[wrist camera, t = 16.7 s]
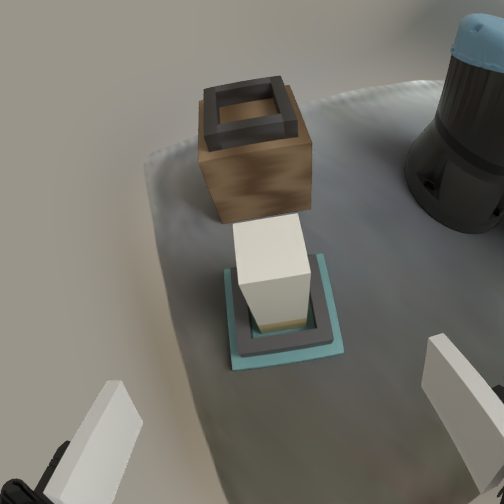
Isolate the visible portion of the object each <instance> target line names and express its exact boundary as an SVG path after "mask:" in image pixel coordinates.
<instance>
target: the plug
mask: <svg viewBox="0 0 504 504" xmlns="http://www.w3.org/2000/svg"><path fill="white" fill-rule="evenodd" d="M233 233H234V243H235V254H236V264H237V274H238V284H239V287H240V289H241V291H242V293H243V295H244V297H245V299H246V301H247V304H248V306H249V308H250V310H251V312H252V314H253V316H254V318H255V320H256V322H257V325H258V327H259V329H260V331H261V333H262V334H265V333H272V332H278V331H284V330H291V329H297V328H303V327H306V322H307V312H308V301H309V290H310V279H311V271H310V266H309V261H308V257H307V252H306V247H305V243H304V238H303V234H302V230H301V225H300V221H299V217H298V213H296V214H290V215H284V216H278V217H272V218H265V219H260V220H254V221H248V222H242V223H236V224H233Z"/></svg>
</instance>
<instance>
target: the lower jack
mask: <svg viewBox="0 0 504 504" xmlns="http://www.w3.org/2000/svg"><path fill="white" fill-rule="evenodd" d="M307 257H308V261H309V266H310V271H311V279H310V290H309V301H308V312H307V322H306V327H303V328H297V329H291V330H284V331H278V332H272V333H265V334H262V333H261V331H260V329H259V327H258V325H257V322H256V320H255V318H254V316H253V314H252V312H251V310H250V308H249V306H248V304H247V301H246V299H245V297H244V295H243V293H242V291H241V289H240V287H239V284H238V274H237V267H236V268H229V269H223V271H224V283H225V295H226V307H227V318H228V329H229V340H230V350H231V361H232V370H233V371H240V370H249V369H257V368H264V367H272V366H278V365H285V364H291V363H298V362H304V361H309V360H315V359H321V358H326V357H331V356H336V355H341V354H343V353H344V348H343V343H342V337H341V332H340V327H339V322H338V318H337V313H336V308H335V303H334V299H333V294H332V290H331V285H330V281H329V276H328V272H327V268H326V263H325V259H324V255H323V253H321V254H315V255H309V256H307Z"/></svg>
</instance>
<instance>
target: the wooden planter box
mask: <svg viewBox="0 0 504 504" xmlns="http://www.w3.org/2000/svg"><path fill="white" fill-rule="evenodd" d="M198 131H199V132H198V133H199V134H198V163H199V166H200V168H201V171H202V173H203V176H204V178H205V181H206V184H207V186H208V189H209V191H210V194H211V196H212V199H213V202H214V204H215V207H216V209H217V212H218V214H219V217H220V219H221V222H222V224H224V223H230V222H236V221H241V220H247V219H253V218H259V217H265V216H271V215H277V214H283V213H289V212H295V211H302V210H308V209H311V184H312V141H311V139H310V136H309V133H308V131H307V128H306V125H305V123H304V120H303V118H302V115H301V112H300V110H299V107H298V105H297V102H296V100H295V98H294V95H293V93H292V90H291V88H290V86H289V85H286V86H285V85H284V83H283V80H282V78H281V76H274V77H266V78H260V79H254V80H247V81H241V82H236V83H231V84H226V85H220V86H216V87H211V88H206V89H204V100H201V101H199V128H198Z"/></svg>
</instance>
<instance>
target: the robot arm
mask: <svg viewBox="0 0 504 504" xmlns="http://www.w3.org/2000/svg"><path fill="white" fill-rule="evenodd" d="M451 54H452V56H451V60H450V64H449V68H448V72H447V76H446V80H445V84H444V88H443V91H442V94H441V98H440V101H439V104H438V108H437V111H436V115H435V118H434V119H433V120H432V122H431V123H430V124H429V125H428V126H427V127H426V129H425V130H424V131H423V132H422V133H421V134H420V136H419V137H418V138H417V139H416V140H415V141H414V143H413V144H412V146H411V148H410V150H409V153H408V156H407V160H406V163H405V176H406V180H407V183H408V186H409V188H410V190H411V192H412V194H413V195H414V197H415V198H416V200H417V201H418V202H419V204H420V205H421V206H422V207H423V208H424V209H425V210H426V211H427V212H428V213H429V214H430V215H431V216H432V217H434V218H435V219H436V220H438V221H439V222H441V223H442V224H444V225H446V226H448V227H450V228H452V229H454V230H457V231H460V232H464V233H472V234H476V233H483V232H486V231H488V230H490V229H492V228H493V227H494V226H495V225H496V224H497V223H498V221H499V220H500V219H501V218H502V216H503V215H504V19H503V18H499V17H496V16H492V15H487V14H480V13H475V14H469V15H467V16H465V17H464V18H463V19H462V20H461V21H460V24H459V27H458V31H457V35H456V38H455V42H454V44H453V45H452V46H451ZM421 387H422V389H423V390H424V392H425V393H426V395H427V397H428V398H429V400H430V402H431V403H432V405H433V407H434V409H435V410H436V412H437V414H438V415H439V417H440V419H441V421H442V422H443V424H444V426H445V428H446V429H447V431H448V433H449V435H450V436H451V438H452V440H453V442H454V444H455V445H456V447H457V449H458V451H459V453H460V455H461V456H462V458H463V460H464V462H465V464H466V466H467V468H468V470H469V472H470V474H471V476H472V477H473V479H474V481H475V483H476V485H477V487H478V489H479V491H480V493H481V494H483V493H485V492H487V491H489V490H490V489H492V488H494V487H496V486H498V484H499V483H500V482H501V481H502V479H503V478H504V387H502V386H500V385H497V386H495V387H493V388H490V387H489V385H488V384H487V383H486V382H485V380H484V379H483V378H482V377H481V376H480V374H479V373H478V372H477V371H476V370H475V369H474V367H473V366H472V365H471V364H470V363H469V362H468V360H467V359H466V358H465V357H464V356H463V355H462V353H461V352H460V351H459V350H458V349H457V348H456V347H455V346H454V344H453V343H452V342H451V341H450V340H449V339H448V338H447V337H446V336H445V334H444V333H442V334H439V335H435V336H432V337H428V344H427V352H426V359H425V365H424V371H423V377H422V382H421ZM142 425H143V421H142V419H141V417H140V415H139V414H138V412H137V410H136V408H135V406H134V404H133V402H132V400H131V398H130V396H129V394H128V393H127V390H126V389H125V386H124V384H123V382H122V381H121V380H107V382H106V383H105V385H104V387H103V388H102V390H101V391H100V393H99V395H98V396H97V398H96V400H95V401H94V403H93V405H92V406H91V408H90V410H89V411H88V413H87V415H86V416H85V418H84V420H83V422H82V423H81V425H80V427H79V428H78V430H77V432H76V434H75V435H74V437H73V439H72V441H66V442H64V443H63V444H62V445H61V446H60V447H59V448H58V449H57V451H56V453H55V455H54V456H53V459H52V460H51V462H50V463H49V466H48V467H47V468H46V471H45V472H44V474H43V476H42V478H41V479H40V481H39V483H38V485H37V487H36V488H35V490H34V491H33V490H31V489H30V488H29V487H28V486H27V485H26V484H25V483H24V482H23V481H22V480H20V479H11V480H9V481H7V482H6V483H5V484H4V485H3V487H2V490H1V494H0V504H113V501H114V498H115V496H116V493H117V490H118V487H119V485H120V482H121V479H122V477H123V474H124V471H125V469H126V466H127V464H128V461H129V458H130V456H131V453H132V450H133V448H134V445H135V443H136V440H137V438H138V435H139V432H140V430H141V427H142ZM502 493H503V495H502V499H501V502H500V504H504V487H503V488H502V489H501V490H500V492H499V493H498V495H497V497H500V495H501V494H502Z"/></svg>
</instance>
